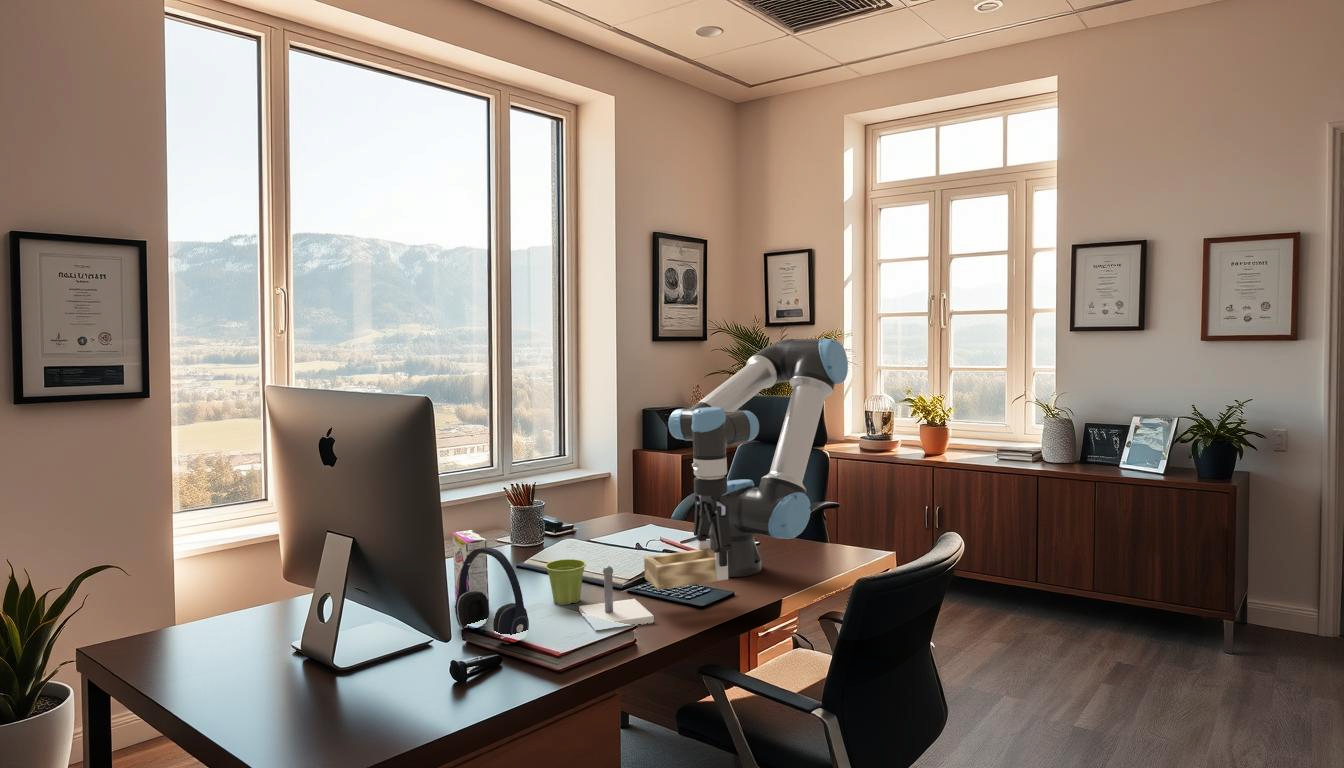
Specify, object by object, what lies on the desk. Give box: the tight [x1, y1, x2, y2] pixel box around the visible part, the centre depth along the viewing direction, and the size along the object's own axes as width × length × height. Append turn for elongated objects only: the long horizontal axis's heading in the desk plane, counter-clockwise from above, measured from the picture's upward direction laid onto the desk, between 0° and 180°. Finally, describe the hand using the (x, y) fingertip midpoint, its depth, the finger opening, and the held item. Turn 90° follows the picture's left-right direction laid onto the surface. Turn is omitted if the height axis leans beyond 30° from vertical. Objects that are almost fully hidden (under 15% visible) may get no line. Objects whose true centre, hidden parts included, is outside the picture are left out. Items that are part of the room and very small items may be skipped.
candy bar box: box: [451, 529, 490, 606], centre depth 202 cm, size 11×5×16 cm, turn 31°
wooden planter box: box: [643, 548, 722, 591], centre depth 197 cm, size 16×9×5 cm, turn 111°
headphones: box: [454, 546, 530, 635], centre depth 181 cm, size 20×7×18 cm, turn 47°
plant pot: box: [544, 558, 587, 606], centre depth 204 cm, size 9×9×9 cm
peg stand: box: [578, 565, 655, 626], centre depth 191 cm, size 13×13×12 cm
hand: (713, 573), depth 200 cm, fingers closed on wooden planter box, 9 cm apart
